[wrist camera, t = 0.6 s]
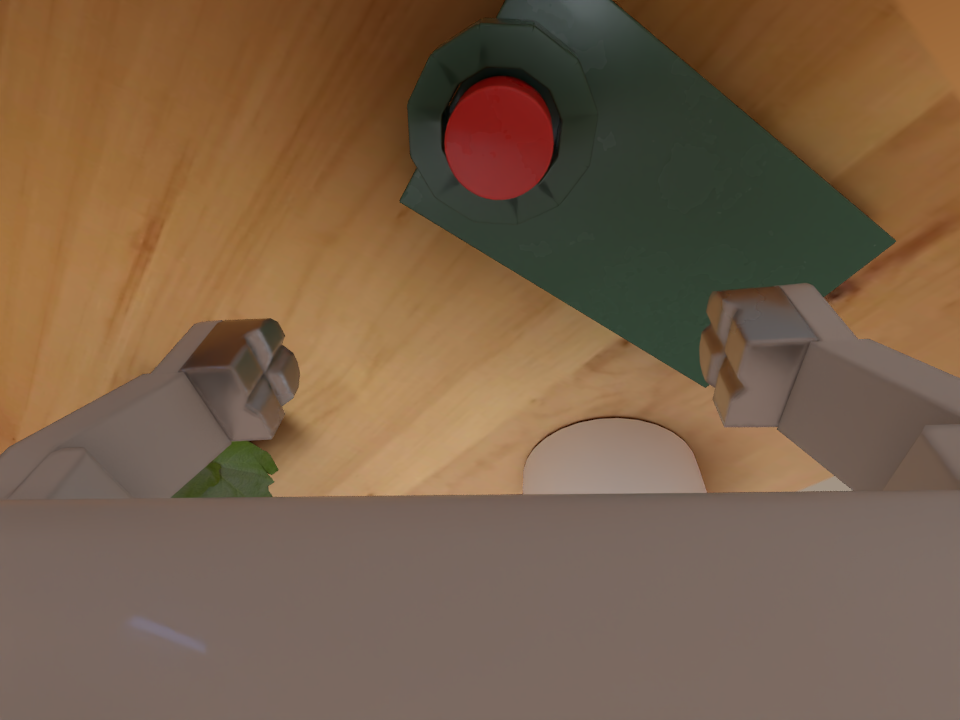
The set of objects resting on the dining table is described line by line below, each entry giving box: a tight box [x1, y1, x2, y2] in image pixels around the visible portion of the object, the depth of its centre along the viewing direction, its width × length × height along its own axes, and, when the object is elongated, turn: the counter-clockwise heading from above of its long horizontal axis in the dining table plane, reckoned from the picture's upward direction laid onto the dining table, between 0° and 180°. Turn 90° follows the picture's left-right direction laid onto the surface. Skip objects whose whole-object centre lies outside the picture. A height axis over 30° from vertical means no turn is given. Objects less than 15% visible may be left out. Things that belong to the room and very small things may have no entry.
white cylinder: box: [523, 418, 707, 494], centre depth 30 cm, size 12×12×12 cm
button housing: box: [400, 0, 896, 388], centre depth 21 cm, size 19×10×4 cm, turn 58°
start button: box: [444, 76, 554, 200], centre depth 17 cm, size 4×4×2 cm
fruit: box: [171, 441, 278, 498], centre depth 32 cm, size 10×11×15 cm
